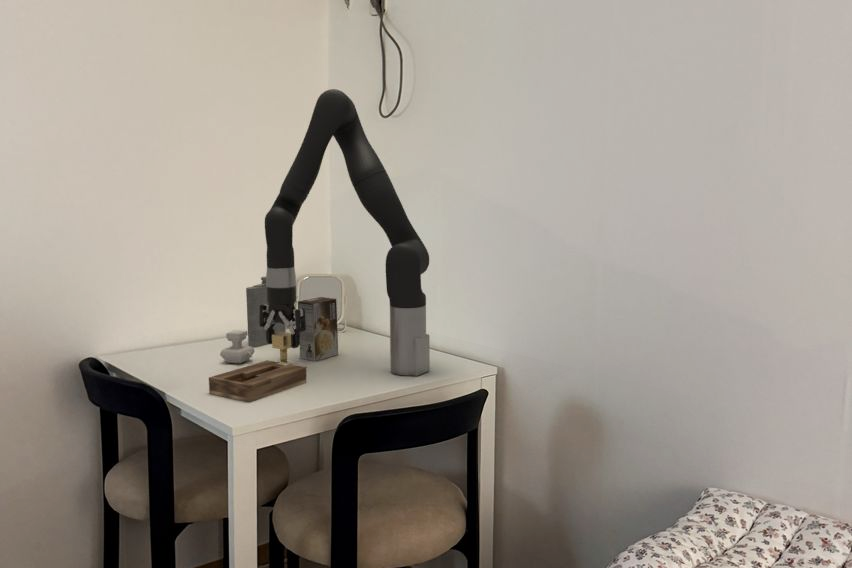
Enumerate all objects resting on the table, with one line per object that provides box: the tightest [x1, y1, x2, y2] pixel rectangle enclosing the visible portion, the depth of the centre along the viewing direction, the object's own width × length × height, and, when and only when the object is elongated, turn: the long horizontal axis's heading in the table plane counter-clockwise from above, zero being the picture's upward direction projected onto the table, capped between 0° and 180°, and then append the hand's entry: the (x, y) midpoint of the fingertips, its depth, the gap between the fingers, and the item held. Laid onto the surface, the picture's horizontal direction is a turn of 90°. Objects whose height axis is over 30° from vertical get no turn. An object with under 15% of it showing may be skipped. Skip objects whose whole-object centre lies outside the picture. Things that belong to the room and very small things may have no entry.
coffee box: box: [297, 296, 339, 362], centre depth 211 cm, size 9×6×16 cm
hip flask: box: [245, 276, 287, 349], centre depth 229 cm, size 16×4×20 cm, turn 153°
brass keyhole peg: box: [271, 331, 293, 365], centre depth 200 cm, size 4×4×9 cm
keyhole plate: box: [208, 359, 307, 403], centre depth 182 cm, size 13×19×4 cm
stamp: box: [219, 329, 255, 364], centre depth 206 cm, size 9×7×8 cm
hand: (282, 345), depth 200 cm, fingers open, 8 cm apart
